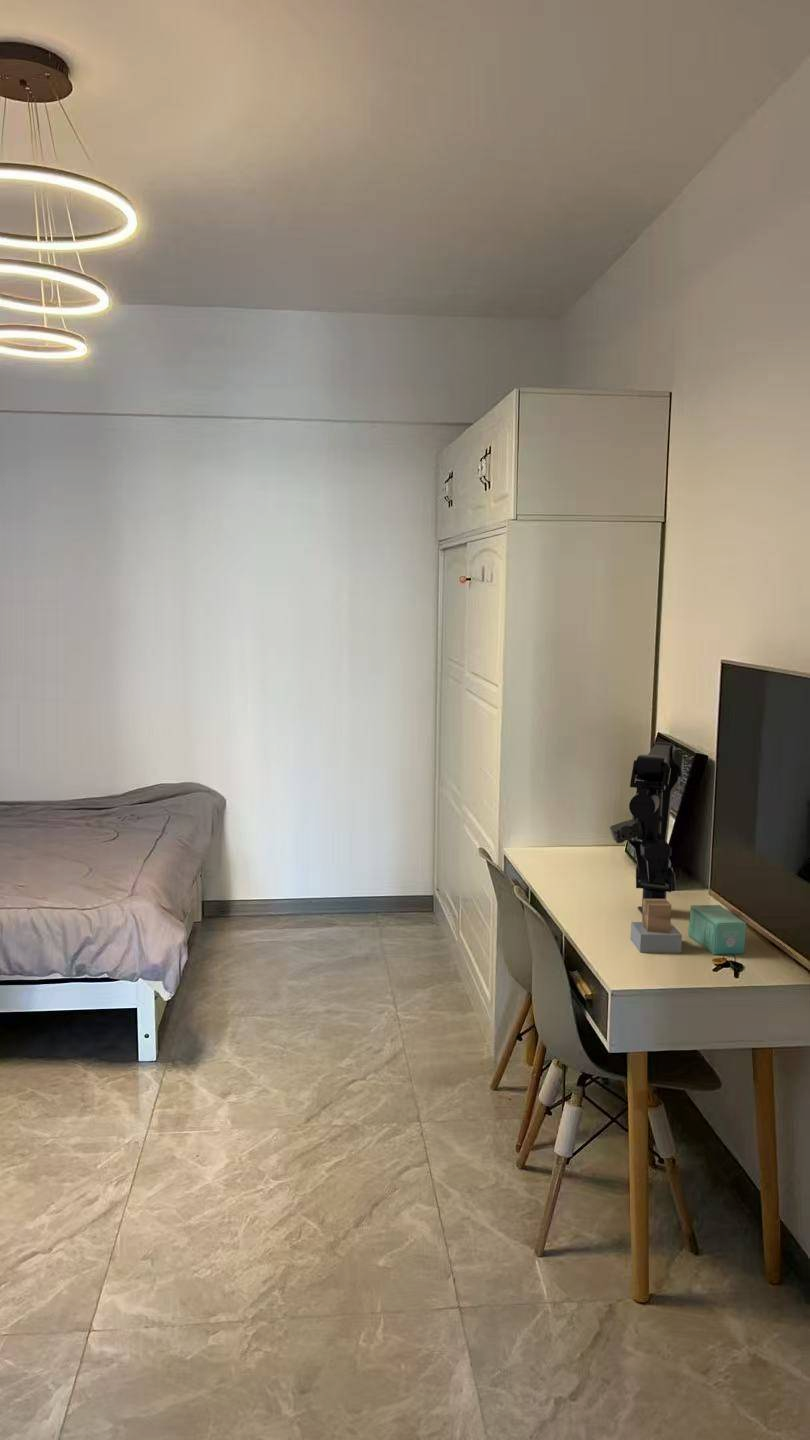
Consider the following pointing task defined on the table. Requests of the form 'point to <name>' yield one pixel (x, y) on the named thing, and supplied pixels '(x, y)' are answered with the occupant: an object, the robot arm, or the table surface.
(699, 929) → the box
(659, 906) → the block
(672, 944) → the base
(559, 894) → the table surface
